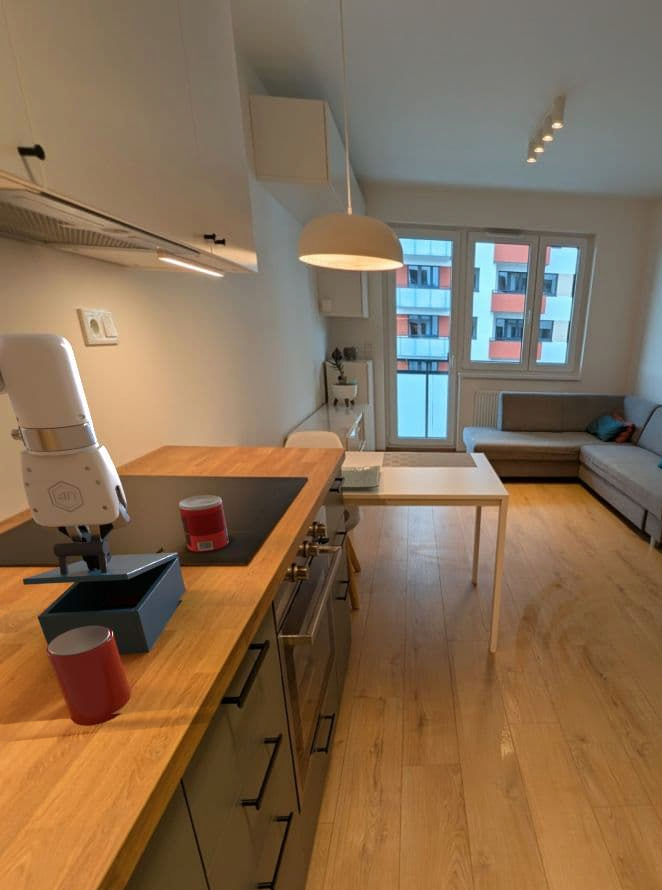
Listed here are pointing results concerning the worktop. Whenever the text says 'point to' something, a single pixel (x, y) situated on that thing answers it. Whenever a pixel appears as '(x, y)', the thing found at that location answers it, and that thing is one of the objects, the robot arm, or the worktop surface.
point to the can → (89, 674)
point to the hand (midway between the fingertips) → (99, 565)
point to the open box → (119, 607)
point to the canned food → (204, 523)
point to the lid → (114, 570)
